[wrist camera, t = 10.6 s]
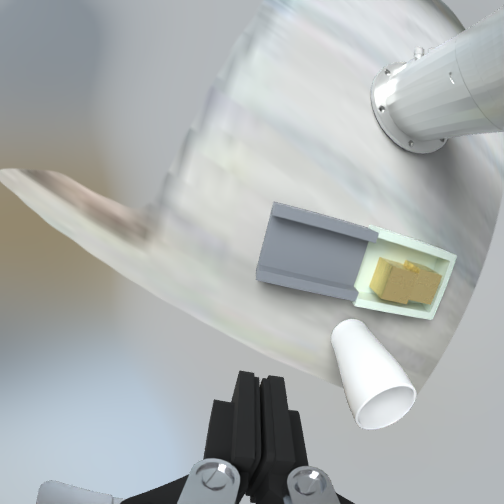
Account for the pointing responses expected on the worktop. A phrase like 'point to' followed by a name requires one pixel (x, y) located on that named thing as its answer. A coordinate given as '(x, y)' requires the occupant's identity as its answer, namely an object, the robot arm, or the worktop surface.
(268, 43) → the worktop surface
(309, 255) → the slot board
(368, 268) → the tray
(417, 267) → the tan cube
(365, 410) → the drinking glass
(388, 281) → the gold cube
